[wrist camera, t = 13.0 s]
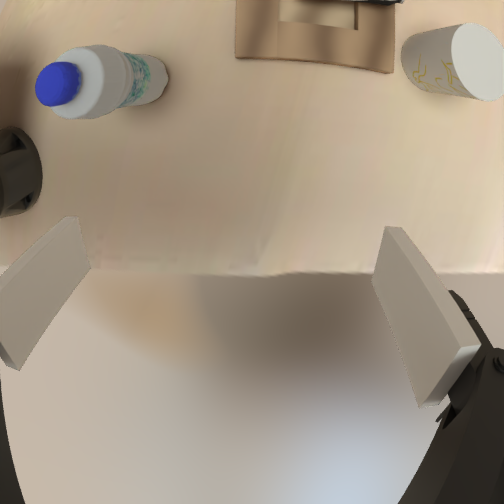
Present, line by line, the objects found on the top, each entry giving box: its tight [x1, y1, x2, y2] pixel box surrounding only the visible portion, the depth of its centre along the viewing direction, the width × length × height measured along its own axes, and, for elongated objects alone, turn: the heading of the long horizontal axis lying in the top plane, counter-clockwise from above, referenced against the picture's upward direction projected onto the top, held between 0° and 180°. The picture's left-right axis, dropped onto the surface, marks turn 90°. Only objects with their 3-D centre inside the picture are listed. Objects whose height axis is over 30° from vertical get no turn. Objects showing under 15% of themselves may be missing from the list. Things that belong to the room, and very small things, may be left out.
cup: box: [401, 23, 504, 101], centre depth 23 cm, size 8×8×12 cm
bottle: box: [35, 45, 168, 119], centre depth 23 cm, size 7×7×20 cm
